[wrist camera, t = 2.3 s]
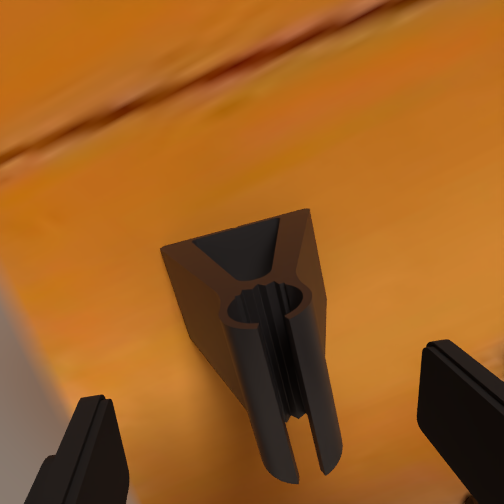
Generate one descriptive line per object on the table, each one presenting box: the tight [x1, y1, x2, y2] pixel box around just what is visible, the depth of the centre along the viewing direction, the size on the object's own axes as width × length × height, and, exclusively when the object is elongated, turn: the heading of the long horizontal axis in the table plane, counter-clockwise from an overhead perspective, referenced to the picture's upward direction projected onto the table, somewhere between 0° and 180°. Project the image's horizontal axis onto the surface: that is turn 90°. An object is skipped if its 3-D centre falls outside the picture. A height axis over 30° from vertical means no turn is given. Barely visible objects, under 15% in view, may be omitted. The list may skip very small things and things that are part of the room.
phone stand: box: [160, 209, 343, 484], centre depth 17 cm, size 9×6×12 cm, turn 103°
